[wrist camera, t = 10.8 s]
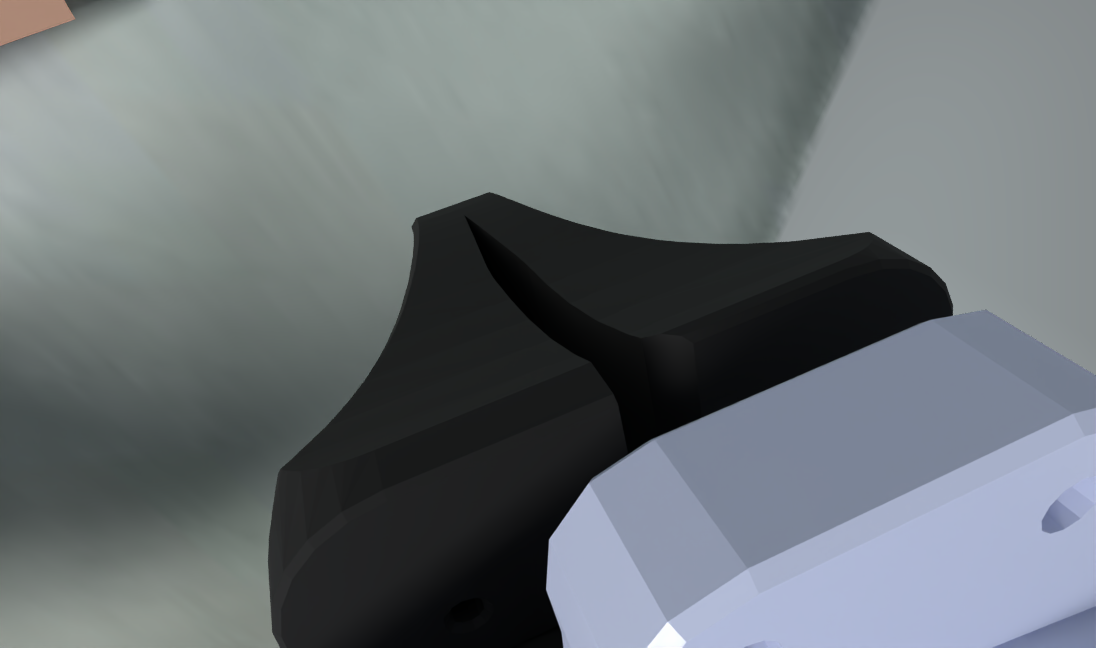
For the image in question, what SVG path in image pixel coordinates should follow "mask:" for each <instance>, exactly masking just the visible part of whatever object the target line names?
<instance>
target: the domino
mask: <svg viewBox="0 0 1096 648" xmlns="http://www.w3.org/2000/svg"><path fill="white" fill-rule="evenodd" d="M72 20H75V18H74V16H73V14H72V13H71V11H70V9H69V7H68V6H67V4H66V2H65V1H64V0H0V46H1V45H4V44H7V43H10V42H13V41H15V40H18V39H21V38H24V37H27V36H29V35H32V34H35V33H38V32H41V31H44V30H46V29H49V28H52V27H55V26H58V25H60V24H63V23H66V22H69V21H72Z"/></svg>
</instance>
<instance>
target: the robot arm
mask: <svg viewBox="0 0 1096 648" xmlns="http://www.w3.org/2000/svg"><path fill="white" fill-rule="evenodd" d="M412 230H413V234H414V249H413V259H412V265H411V271H410V277H409V282H408V286H407V289H406V293H405V296H404V300H403V303H402V307H401V310H400V313H399V316H398V318H397V321H396V324H395V326H394V328H393V331H392V333H391V335H390V337H389V340H388V342H387V344H386V346H385V348H384V350H383V352H382V354H381V355H380V357H379V359H378V361H377V362H376V364H375V365H374V367H373V369H372V370H371V372H370V373H369V375H368V377H367V378H366V379H365V381H364V382H363V384H362V385H361V386H360V387H359V389H358V390H357V391H356V393H355V394H354V395H353V397H352V398H351V399H350V400H349V401H348V403H347V404H346V405H345V406H344V407H343V408H342V410H341V411H340V412H339V413H338V414H337V415H336V417H335V418H334V419H333V420H332V421H331V422H330V423H329V424H328V425H327V426H326V427H325V428H324V429H323V430H322V431H321V432H320V433H319V434H318V435H317V436H316V437H315V438H314V439H313V440H312V441H311V442H309V443H308V444H307V445H306V446H305V447H304V448H303V449H302V450H301V451H300V452H299V453H298V454H297V455H296V456H295V457H294V458H293V459H292V460H290V461H289V462H288V463H287V464H286V465H285V466H283V467H282V468H281V469H280V471H279V473H278V478H277V484H276V491H275V497H274V504H273V511H272V520H271V528H270V535H269V552H268V568H269V586H270V602H271V618H272V633H273V635H274V637H275V639H276V641H277V642H278V644H279V646H280V648H1096V375H1094V374H1093V373H1091V372H1089V371H1088V370H1086V369H1084V368H1083V367H1081V366H1079V365H1078V364H1076V363H1074V362H1073V361H1071V360H1069V359H1068V358H1066V357H1064V356H1063V355H1061V354H1059V353H1058V352H1056V351H1054V350H1053V349H1051V348H1049V347H1048V346H1046V345H1044V344H1043V343H1041V342H1039V341H1037V340H1036V339H1034V338H1033V337H1031V336H1029V335H1028V334H1026V333H1024V332H1023V331H1021V330H1019V329H1017V328H1016V327H1014V326H1013V325H1011V324H1009V323H1008V322H1006V321H1004V320H1002V319H1001V318H999V317H997V316H996V315H994V314H993V313H991V312H989V311H988V310H981V311H976V312H971V313H965V314H960V315H955V316H953V304H952V301H951V298H950V295H949V292H948V289H947V286H946V283H945V282H944V281H942V279H941V278H940V277H939V276H938V275H937V274H936V273H935V272H934V271H933V270H932V269H931V268H930V267H928V266H927V265H925V264H923V263H922V262H920V261H918V260H916V259H915V258H913V257H911V256H910V255H908V254H906V253H905V252H903V251H901V250H899V249H898V248H896V247H894V246H893V245H891V244H889V243H888V242H886V241H884V240H883V239H881V238H879V237H877V236H876V235H874V234H872V233H870V232H865V233H857V234H849V235H841V236H833V237H825V238H817V239H809V240H801V241H791V242H775V243H753V244H707V243H688V242H673V241H663V240H655V239H648V238H642V237H635V236H629V235H623V234H618V233H613V232H608V231H604V230H600V229H597V228H593V227H589V226H585V225H581V224H578V223H575V222H571V221H568V220H565V219H562V218H559V217H556V216H553V215H550V214H547V213H544V212H541V211H539V210H536V209H533V208H531V207H528V206H525V205H523V204H520V203H518V202H515V201H512V200H510V199H507V198H505V197H502V196H499V195H497V194H494V193H490V192H489V193H486V194H483V195H480V196H477V197H475V198H472V199H469V200H466V201H463V202H460V203H458V204H455V205H452V206H449V207H446V208H444V209H441V210H438V211H435V212H432V213H430V214H427V215H424V216H421V217H418V218H416V220H415V222H414V223H413V225H412Z"/></svg>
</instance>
